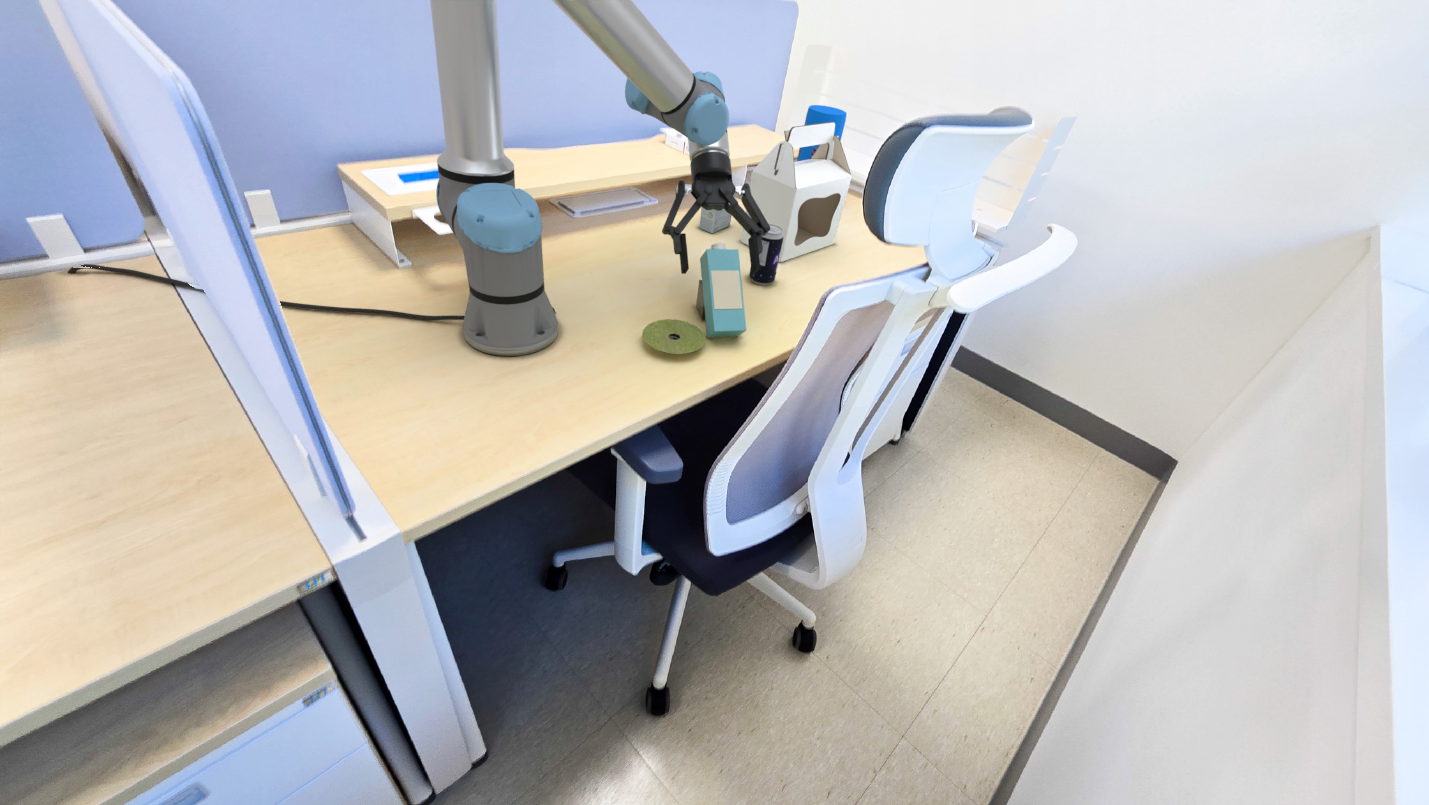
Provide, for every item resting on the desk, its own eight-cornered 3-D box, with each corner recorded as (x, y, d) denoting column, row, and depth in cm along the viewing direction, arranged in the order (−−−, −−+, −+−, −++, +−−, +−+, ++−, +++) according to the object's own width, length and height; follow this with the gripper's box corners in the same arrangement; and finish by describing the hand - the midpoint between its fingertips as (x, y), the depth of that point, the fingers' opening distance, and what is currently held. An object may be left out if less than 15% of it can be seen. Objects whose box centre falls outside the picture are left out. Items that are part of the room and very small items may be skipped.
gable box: (795, 225, 155) (820, 113, 138) (834, 244, 149) (865, 128, 132) (739, 242, 142) (759, 119, 125) (779, 263, 135) (806, 137, 118)
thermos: (788, 202, 169) (807, 110, 154) (790, 191, 178) (808, 102, 162) (824, 209, 169) (847, 117, 153) (825, 197, 177) (847, 109, 162)
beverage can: (772, 289, 124) (783, 236, 117) (746, 283, 125) (756, 230, 117) (775, 278, 129) (786, 226, 121) (750, 272, 129) (760, 221, 122)
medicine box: (716, 221, 151) (721, 187, 146) (730, 226, 149) (735, 193, 144) (698, 228, 146) (702, 194, 140) (712, 234, 144) (717, 199, 138)
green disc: (629, 336, 103) (630, 327, 102) (681, 322, 109) (682, 313, 108) (664, 369, 96) (665, 359, 95) (716, 352, 102) (718, 343, 101)
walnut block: (701, 320, 110) (705, 292, 107) (695, 307, 114) (699, 279, 110) (726, 319, 112) (731, 292, 108) (719, 306, 115) (724, 279, 112)
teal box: (711, 348, 103) (722, 274, 94) (693, 307, 114) (701, 238, 105) (743, 346, 105) (756, 274, 96) (722, 307, 115) (732, 239, 107)
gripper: (647, 145, 100) (657, 264, 98) (779, 152, 107) (791, 263, 105) (640, 166, 107) (650, 278, 105) (765, 172, 114) (776, 276, 112)
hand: (721, 271), depth 105 cm, fingers open, 13 cm apart
